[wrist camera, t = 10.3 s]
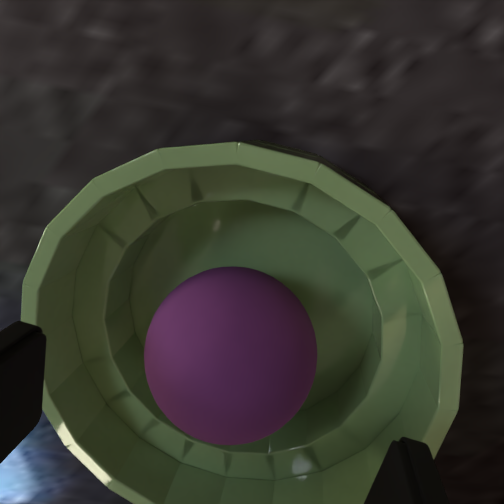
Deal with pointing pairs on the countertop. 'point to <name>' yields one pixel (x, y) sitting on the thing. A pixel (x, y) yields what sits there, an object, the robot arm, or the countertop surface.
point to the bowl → (262, 259)
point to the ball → (230, 355)
